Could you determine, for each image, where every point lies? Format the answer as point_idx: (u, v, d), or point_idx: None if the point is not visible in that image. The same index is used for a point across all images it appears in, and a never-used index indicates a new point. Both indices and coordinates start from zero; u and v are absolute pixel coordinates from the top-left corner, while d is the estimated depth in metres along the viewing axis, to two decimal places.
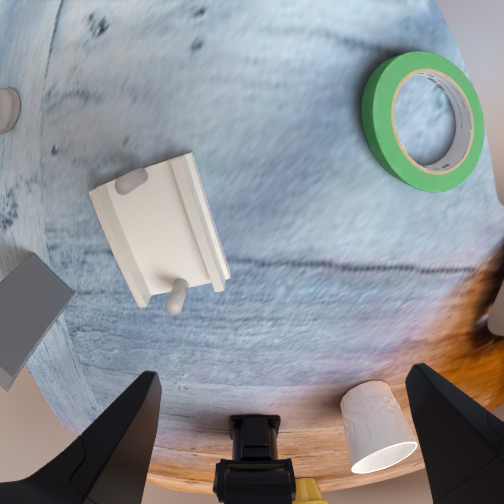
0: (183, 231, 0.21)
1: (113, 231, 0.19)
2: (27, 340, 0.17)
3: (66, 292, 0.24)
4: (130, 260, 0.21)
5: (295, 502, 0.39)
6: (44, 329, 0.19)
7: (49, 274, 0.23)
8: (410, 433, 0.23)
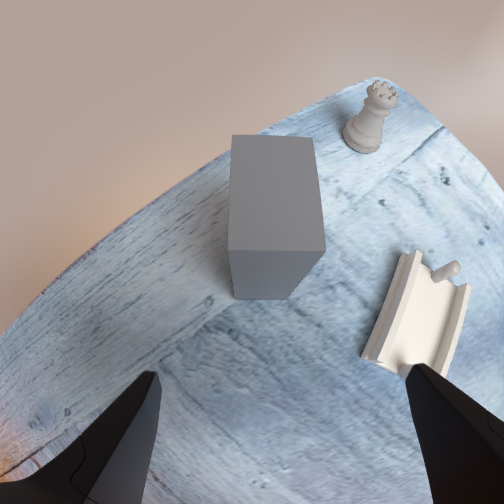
0: (434, 332, 0.21)
1: None
2: None
3: None
4: None
5: None
6: None
7: None
8: None
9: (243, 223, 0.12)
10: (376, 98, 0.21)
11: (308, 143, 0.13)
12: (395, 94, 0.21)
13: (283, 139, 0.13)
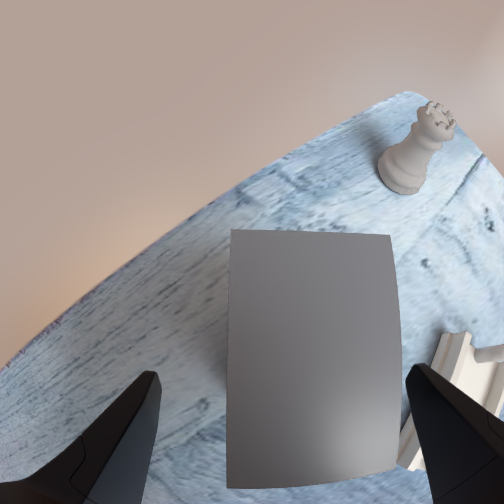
0: None
1: None
2: None
3: None
4: None
5: None
6: None
7: None
8: None
9: (256, 444, 0.05)
10: (431, 126, 0.15)
11: (384, 249, 0.07)
12: (453, 122, 0.15)
13: (338, 241, 0.07)
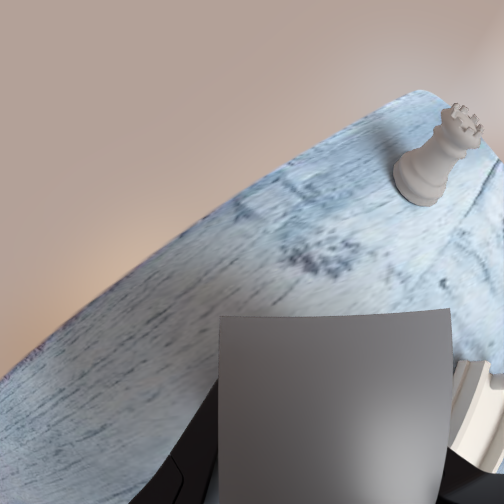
0: (481, 448, 0.12)
1: None
2: None
3: None
4: None
5: None
6: None
7: None
8: None
9: None
10: (458, 132, 0.12)
11: (442, 332, 0.04)
12: (480, 128, 0.12)
13: (383, 328, 0.04)
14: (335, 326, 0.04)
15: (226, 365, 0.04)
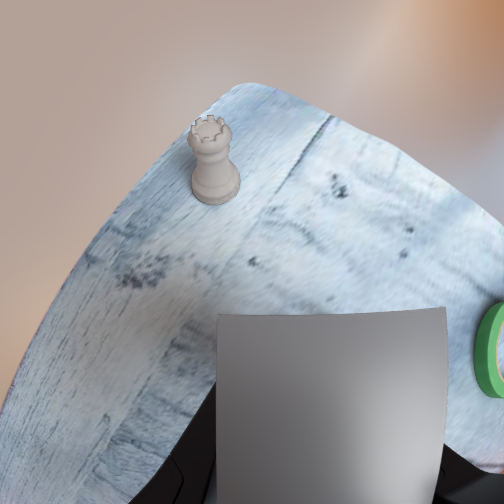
0: None
1: None
2: None
3: None
4: None
5: None
6: None
7: None
8: None
9: None
10: (198, 146, 0.19)
11: (438, 330, 0.04)
12: (223, 128, 0.19)
13: (379, 326, 0.04)
14: (331, 324, 0.04)
15: (224, 362, 0.04)
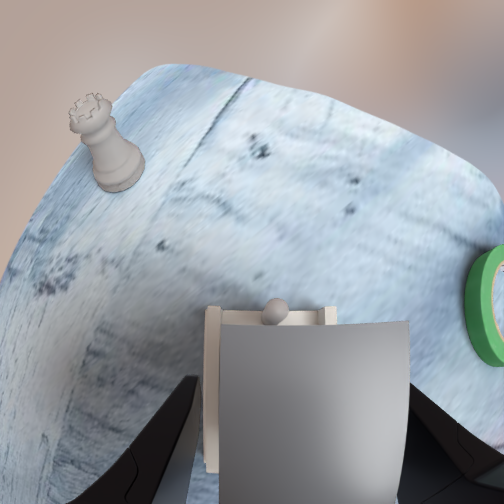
0: None
1: (219, 367, 0.15)
2: None
3: None
4: None
5: None
6: None
7: None
8: None
9: None
10: (76, 127, 0.14)
11: (400, 340, 0.05)
12: (99, 103, 0.14)
13: (348, 335, 0.05)
14: (308, 333, 0.05)
15: (225, 361, 0.05)
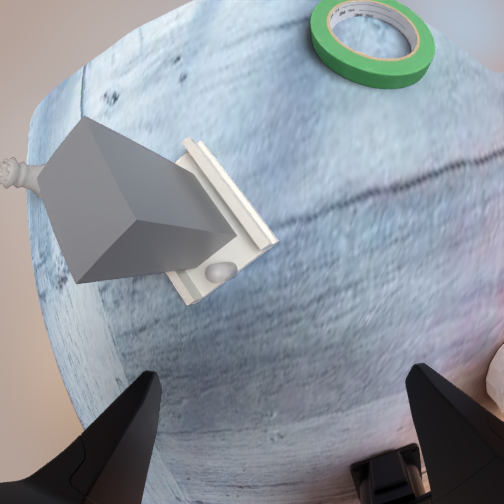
0: None
1: None
2: (177, 214, 0.13)
3: (228, 227, 0.20)
4: None
5: None
6: (202, 228, 0.15)
7: (210, 200, 0.21)
8: None
9: (72, 251, 0.10)
10: (7, 184, 0.20)
11: (82, 124, 0.10)
12: (7, 163, 0.19)
13: (65, 142, 0.10)
14: (54, 154, 0.10)
15: (41, 187, 0.11)
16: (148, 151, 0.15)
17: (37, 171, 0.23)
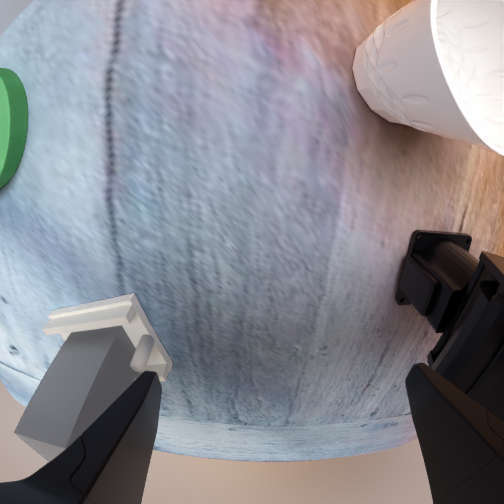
0: None
1: None
2: (76, 401, 0.14)
3: (111, 331, 0.21)
4: None
5: None
6: (93, 378, 0.16)
7: (90, 333, 0.21)
8: None
9: None
10: None
11: (19, 435, 0.11)
12: None
13: (29, 444, 0.12)
14: (35, 450, 0.12)
15: None
16: (42, 382, 0.16)
17: None
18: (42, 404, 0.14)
